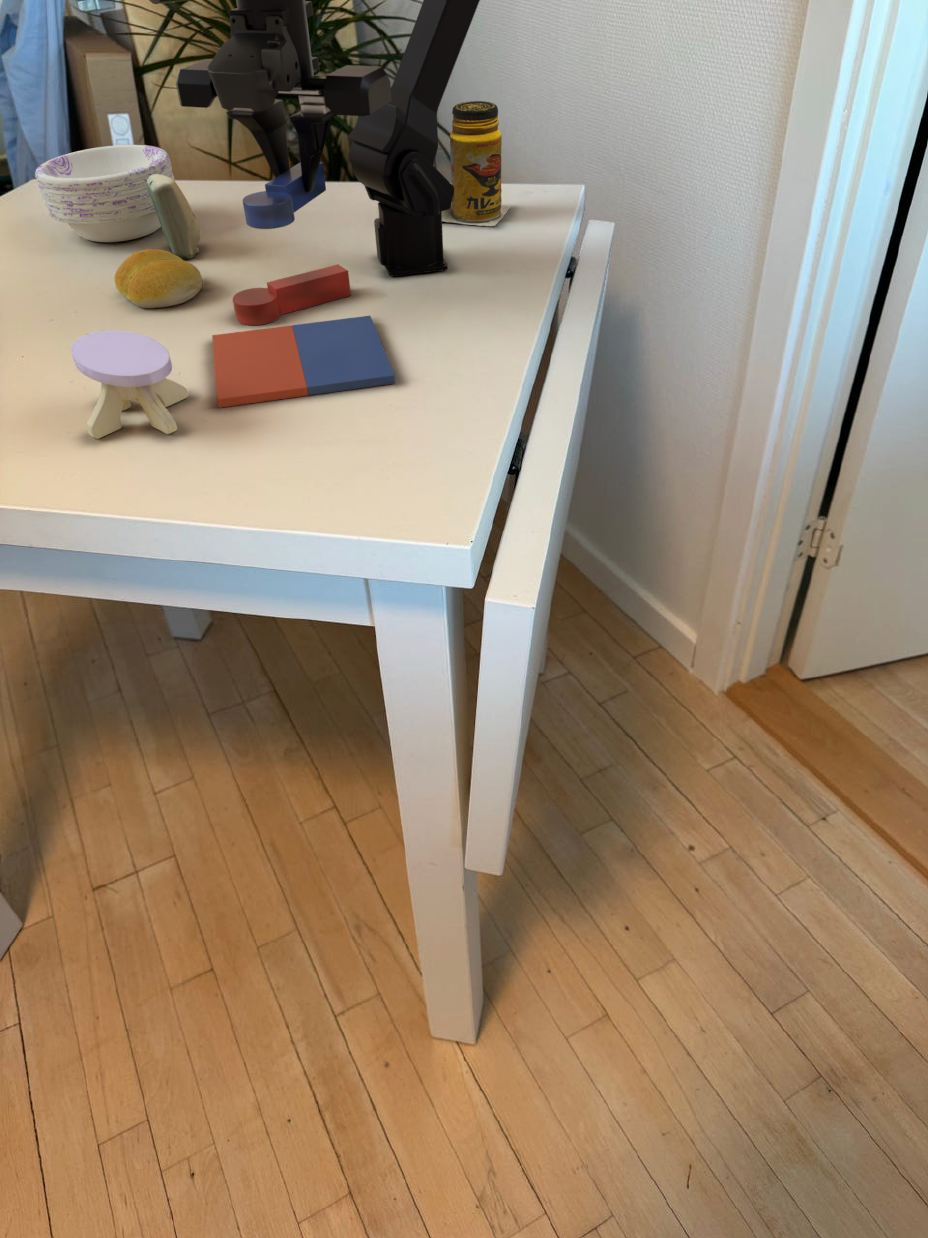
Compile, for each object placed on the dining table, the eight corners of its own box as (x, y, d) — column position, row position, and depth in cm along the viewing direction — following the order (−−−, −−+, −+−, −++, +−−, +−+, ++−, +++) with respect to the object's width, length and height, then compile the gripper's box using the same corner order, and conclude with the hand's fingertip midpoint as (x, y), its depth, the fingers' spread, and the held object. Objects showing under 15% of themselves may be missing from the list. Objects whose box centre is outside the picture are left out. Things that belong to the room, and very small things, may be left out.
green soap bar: (145, 255, 100) (125, 180, 95) (179, 241, 103) (161, 167, 98) (181, 263, 98) (163, 187, 92) (214, 248, 101) (198, 174, 96)
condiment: (495, 227, 104) (495, 113, 96) (428, 221, 106) (422, 110, 98) (511, 208, 109) (512, 98, 101) (447, 203, 111) (443, 95, 103)
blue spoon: (296, 187, 88) (292, 159, 86) (336, 190, 87) (333, 162, 85) (237, 226, 79) (231, 196, 77) (281, 230, 78) (276, 199, 76)
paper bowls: (52, 221, 110) (29, 152, 105) (174, 203, 114) (158, 135, 109) (61, 261, 99) (36, 186, 94) (195, 239, 104) (178, 166, 98)
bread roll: (146, 317, 87) (135, 277, 84) (109, 292, 92) (97, 253, 90) (220, 294, 91) (211, 255, 88) (180, 271, 96) (171, 233, 93)
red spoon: (336, 285, 92) (333, 260, 90) (356, 298, 89) (353, 273, 87) (229, 314, 87) (224, 288, 85) (247, 329, 84) (241, 302, 83)
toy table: (66, 411, 73) (42, 346, 69) (167, 378, 77) (150, 315, 73) (109, 459, 67) (86, 390, 63) (216, 421, 71) (200, 354, 67)
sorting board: (370, 323, 85) (370, 315, 84) (395, 383, 75) (394, 374, 75) (213, 342, 82) (212, 334, 82) (218, 407, 73) (216, 399, 72)
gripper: (118, 3, 70) (167, 209, 80) (331, 7, 65) (353, 225, 76) (191, -16, 78) (227, 174, 88) (386, -13, 73) (399, 187, 84)
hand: (297, 190), depth 84 cm, fingers closed on blue spoon, 2 cm apart
